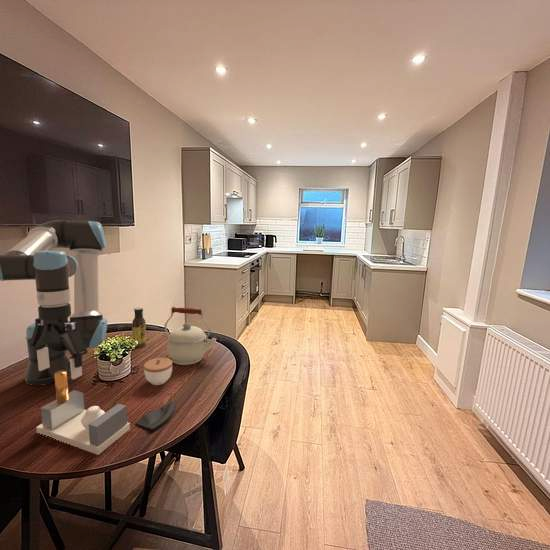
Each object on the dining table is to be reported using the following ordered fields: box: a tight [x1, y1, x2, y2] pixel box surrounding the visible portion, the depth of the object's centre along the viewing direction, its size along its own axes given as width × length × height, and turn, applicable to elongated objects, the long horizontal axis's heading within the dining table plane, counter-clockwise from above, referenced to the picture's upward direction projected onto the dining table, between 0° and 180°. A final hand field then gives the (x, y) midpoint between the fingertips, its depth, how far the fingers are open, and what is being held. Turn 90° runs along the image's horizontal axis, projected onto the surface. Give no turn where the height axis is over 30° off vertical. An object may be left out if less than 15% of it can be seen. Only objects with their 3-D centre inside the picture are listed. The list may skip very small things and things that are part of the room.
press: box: [35, 403, 131, 456], centre depth 86 cm, size 24×11×8 cm, turn 72°
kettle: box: [164, 306, 217, 366], centre depth 135 cm, size 25×18×25 cm
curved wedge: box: [135, 400, 176, 432], centre depth 95 cm, size 8×14×2 cm, turn 153°
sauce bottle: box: [131, 307, 147, 348], centre depth 148 cm, size 6×6×20 cm
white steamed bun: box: [81, 405, 106, 431], centre depth 85 cm, size 6×6×7 cm
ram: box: [40, 370, 85, 430], centre depth 88 cm, size 4×10×15 cm, turn 162°
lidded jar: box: [143, 357, 174, 386], centre depth 115 cm, size 11×11×9 cm
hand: (60, 373), depth 86 cm, fingers open, 13 cm apart
